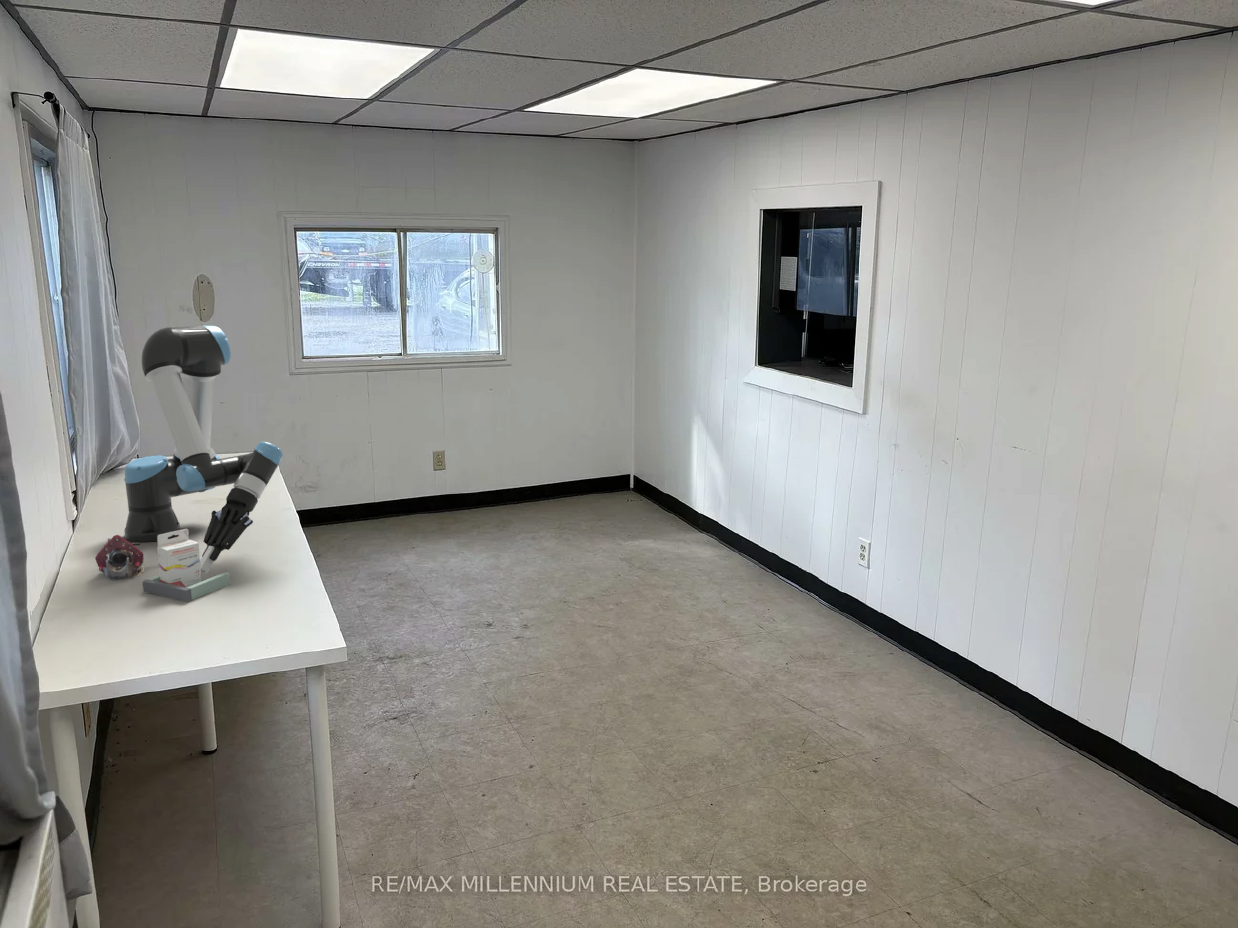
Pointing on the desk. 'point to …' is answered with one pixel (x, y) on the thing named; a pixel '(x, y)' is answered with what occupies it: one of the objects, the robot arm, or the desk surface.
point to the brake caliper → (119, 559)
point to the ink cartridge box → (178, 559)
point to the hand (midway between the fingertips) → (202, 570)
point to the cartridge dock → (181, 592)
